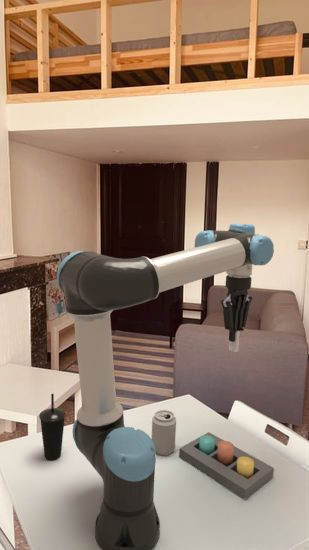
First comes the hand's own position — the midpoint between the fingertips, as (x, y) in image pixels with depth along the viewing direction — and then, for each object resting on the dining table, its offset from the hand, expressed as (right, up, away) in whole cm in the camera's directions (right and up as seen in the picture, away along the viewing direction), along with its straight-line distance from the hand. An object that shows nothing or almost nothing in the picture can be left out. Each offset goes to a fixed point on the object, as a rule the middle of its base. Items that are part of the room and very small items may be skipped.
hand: (233, 350), depth 124 cm
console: (-4, -34, -5) cm, 34 cm away
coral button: (-4, -31, -5) cm, 31 cm away
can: (-22, -32, +3) cm, 39 cm away
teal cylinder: (-8, -31, 0) cm, 32 cm away
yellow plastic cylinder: (+1, -33, -10) cm, 35 cm away
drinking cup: (-55, -32, -3) cm, 64 cm away
